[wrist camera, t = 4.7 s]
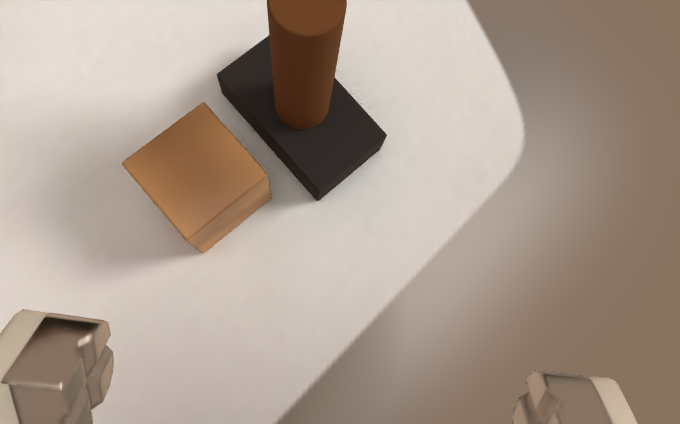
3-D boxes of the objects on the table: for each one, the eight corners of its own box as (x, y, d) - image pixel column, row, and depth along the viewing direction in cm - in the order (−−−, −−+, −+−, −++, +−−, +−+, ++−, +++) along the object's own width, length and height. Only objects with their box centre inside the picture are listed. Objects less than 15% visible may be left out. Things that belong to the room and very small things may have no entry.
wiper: (285, 44, 27) (282, -116, 17) (380, 149, 26) (433, 44, 16) (221, 92, 26) (179, -47, 16) (317, 201, 25) (334, 124, 16)
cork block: (216, 134, 26) (203, 101, 22) (272, 198, 25) (268, 175, 21) (147, 188, 25) (120, 162, 21) (203, 254, 24) (186, 240, 21)
